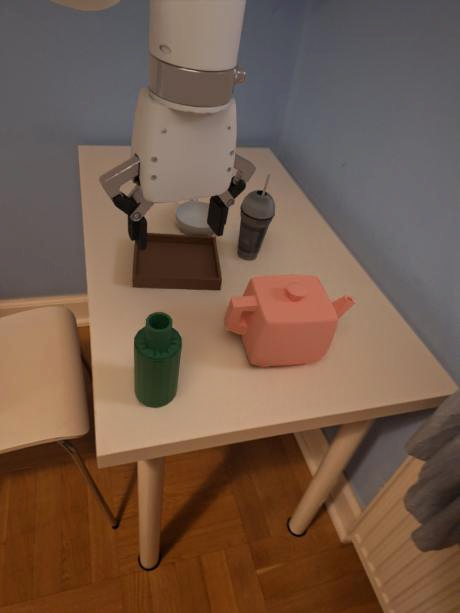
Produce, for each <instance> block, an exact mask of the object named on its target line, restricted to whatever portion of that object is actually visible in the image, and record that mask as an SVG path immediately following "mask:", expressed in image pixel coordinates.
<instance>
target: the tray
mask: <svg viewBox="0 0 460 613" xmlns="http://www.w3.org/2000/svg"><path fill="white" fill-rule="evenodd" d="M216 237H217V236H213V235H210V236H196V235H187V234H177V233H161V232H147V248H146V249H145V250H142V251H140V249H139V247H138V246H137V244H136V242H135V241H134V246H133V260H132V275H131V284H132V285H131V286H132V288H135V289H136V288H137V289H164V290H165V289H167V290H195V291H196V290H197V291H198V290H199V291H221V288H222V283H223V277H222V271H221V264H220V257H219V250H218V244H217V238H216Z"/></svg>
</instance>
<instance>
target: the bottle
mask: <svg viewBox="0 0 460 613" xmlns="http://www.w3.org/2000/svg"><path fill="white" fill-rule="evenodd" d="M173 325H174V324H173V318H172V317H171V316H170V314H168V313H166V312H163V311H154V312H151V313H150V314H148V316H147V317H146V318H145V325H144V326H143V327H142V328H140V329H139V330H138V331H137V332H136V334H135V335H134V337H133V365H134V366H133V372H134V373H133V376H134V377H133V380H134V383H133V384H134V395H135V397H136V400H137V401H138V402H139V403H140V404H142V405H143V406H145V407H148V408H153V409H158V408H163V407H165V406H167V405H169V404H170V403H171V402H172V401H173V400H174V399H175V397H176V394H177V391H178V384H179V375H180V367H181V366H180V365H181V359H182V349H183V337H182V336H181V334H180V333H179V331H178V330H177V329H176V328H175V327H173Z"/></svg>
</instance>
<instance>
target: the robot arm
mask: <svg viewBox="0 0 460 613" xmlns="http://www.w3.org/2000/svg"><path fill="white" fill-rule="evenodd" d="M121 1H122V0H49V2H52V3H55V4H56V5H60V6H63V7H66V8H69V9H73V10H78V11H85V12H95V11H96V12H98V11H103V10H107V9H110V8H112V7H113V6H115V5H117V4H119V3H120V2H121ZM246 4H247V0H149V21H148V22H149V23H148V24H149V26H148V27H149V28H148V30H149V31H148V86H147V87H146V86H145V87H141V88H140V89H139V91H138V95H137V99H136V103H135V109H134V116H133V124H132V131H131V143H130V158H128V159H127V160H125V161H123V162H122V163H120V164H119V165H116V166H115V167H113V168H111V169H110V170H108V171H107V172H105V173H102V175H100V176H99V178H98V181H99V184H100V186H101V187H102V189H103V190H104V192H105V193H106V195H107V196H108V197H109V199H110V201H111V202H112V203H113V205H114V206H115V207H116V208H117V209H118V210H119V211H121V212H122V213H124V214H125V215H126V216H127V234H128V237H129V240H130V241H131V242H134V243H135V242H136V244H137V246H138V247H139V249H140V251H142V250H145V249H146V248H147V233H148V220H147V218H146V216H145V215H146V214H147V213H148V212H149V210H150V209H151V208H152V207H153V206H154V204H165V203H173V202H181V201H188V200H192V199H196V198H197V199H202V198H209V202H208V204H209V210H208V217H207V224H208V225H209V227H210V228H211V229H212V231H213V232H214V233H213V234H214V235H215V237H223V236H224V231H225V225H227V220H228V215H229V210H230V208H232V207H233V206H234V205H235V203H236V198H237V197H239V195H241V194H242V193H243V192H244V191H245V190H246V188H247V183H249V181H250V180H251V178H252V177H253V175H254V174H255V172H256V171H257V168H256V165H254V164H253V163H252V162H251V160H248V159H247V158H244V157H243V156H242V155H239V154H237V153H236V150H237V135H238V133H237V132H238V129H237V128H238V124H237V123H238V119H237V116H238V115H237V102H236V99H235V98H234V97H233V95H234V91H235V85H237V84H239V83H240V84H242V83H244V82H245V81H246V76H247V73H246V69H245V67H244V66H238V63H237V62H238V57H239V56H238V55H239V54H238V53H239V50H240V44H241V37H242V32H243V31H242V30H243V25H244V24H243V23H244V17H245V10H246ZM234 169H235V170H237V171H236V172H235V175H233V173H234ZM129 181H131V182H132V184H134V185H135V184H136V185H135V186H134V187H133V189H132V190H130V192H129V193H128V194H127V195H126V194H125V193H124V192H123V191H121V190H120V189H121V186H122V185H124V184H126V183H127V182H129Z"/></svg>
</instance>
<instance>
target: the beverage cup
mask: <svg viewBox="0 0 460 613" xmlns="http://www.w3.org/2000/svg"><path fill="white" fill-rule="evenodd" d="M266 176H267V177H266V180H265V183H264V186H263V189H255V190H252V191H250V192H248V194H246V196H244V198H243V200H242V202H241V204H240V207H239V210H240V214H239V216H240V223H239V231H238V239H237V252H236V253H237V256H238V257H239V258H240V259H242V260H244V261H254V260H256V259H257V257H258V255H259V253H260V250H261V249H262V245H263V243H264V240H265V237H266V235H267V233H268V230H269V226H270V225H271V223H272V221H273V219H274V217H275V215H276V202H275V200H274V198H273V196H272V195H271V194H270V192H268V191H267V188H268V185H269V181H270V178H271V174H267V175H266Z"/></svg>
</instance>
